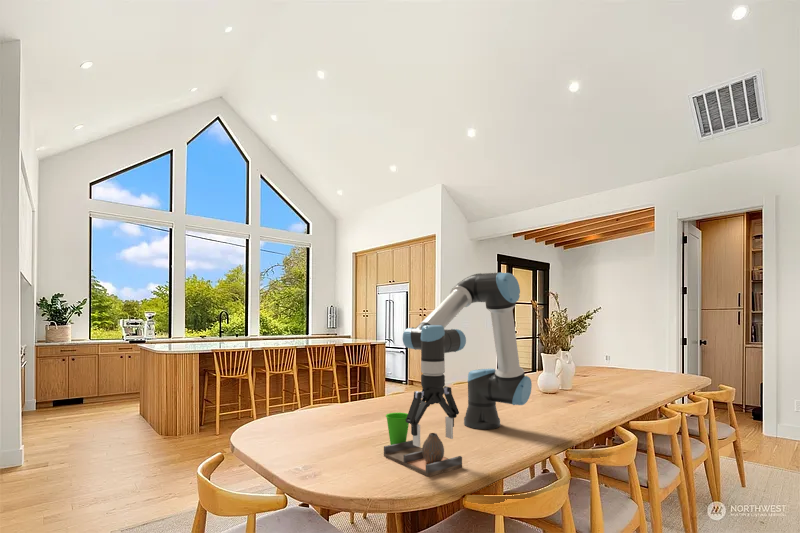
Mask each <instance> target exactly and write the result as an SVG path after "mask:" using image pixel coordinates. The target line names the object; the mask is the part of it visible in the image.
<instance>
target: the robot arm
mask: <svg viewBox="0 0 800 533" xmlns="http://www.w3.org/2000/svg"><path fill="white" fill-rule="evenodd" d="M520 294H521V289H520V284H519V282H518V279H517V278H516V276H514V275H513V274H512V273H510V272H502V271H501V272H488V273H487V272H486V273H485V272H484V273H481V272H480V273H475V274H471V275H469V276H467V277H465V278H463V279H462V280H460V281H459V282H458V283H457V284H455V285H454V286H452V288H451V289H450V292H449V295H447V297H446V298H444V299H443V301H441V303H439V305H437V306H436V307H435V308H434V309H433V310H432V311H431V312H430V313H429V314H428V315H427V316H426V317H425V318H424V319H423V320H422V321H421V322H420V323H419V324H418V325H417V326H416V327H413V326H412V327H407V328H405V330H404V331H403V334H402V342H403V345H404V346H405V347H406V348H407V349H411V350H416V351H417V350H419V351H420V352H421V357H420V360H421V362H420V372H421V373H422V374H421V375H420V384H421V387H422V390H421V391H419V390H415V391H414V392H413V398H412V402H411V405H410V407H409V410H408V412H407V414H408V415H407V418H406V422H407V423H409V425H410V433H411V435H412V440H413V445H415V446H417V447H421V424H419V423H420V421H421V419H422V418H423V416H424V414H425V413H426V411H427V409H428V407H430V405H436V404H439V406H440V407H441V408H442V410H443V411H444V413H445V414H446V416H445V438H448V439H450V440H453V439H454V427H455V419H456V418H457V415H459V413H460V411H459V408H458V406H457V403H456V401H455V399H454V396H453V392H452V387H450V386H446V384H445V382H446V379H445V378H446V376H445V371H446V370H445V369H446V368H445V366H446V365H445V360H446V359H445V355H446V354H447V353H456V352H458V351H461V350H463V349H464V348H465V346H466V343H467V338H466V334H465V333H464V331H462V330H461V329H457V328H456V329H455V328H451V329H445V328H446V327H447V326H448V325H450V322H452V321H453V320H454V319H455V317H456V316H457V315H458V314H459V313H460V312H461V311H462V310H463V309H465V308H467V307H469V306H470V305H471V304H474V303H485V308H486V309H487V310H488V311H489V312H490V316H491V325H492V326H491V327H492V331H493V332H492V333H493V338H494V340H493V341H494V348H495V353H496V354H495V355H496V363H497V369H495V368H480V369H472V370H470V371H469V372H468V374H467V407H466V412H465V416H464V417H463V424H464V426H466V427H467V428H472V429H479V430H493V429H498V428H500V427H501V418H500V417H499V413H498V410H497V403H500V404H501V403H502V404H507V405H513V406H523V405H526V403H527V402H529V399H530V396H531V393H532V386H533V385H532V379H531V378H530V377H529V376H527V375H525V370H524V368H523V367H521V365H520V359H519V350H518V342H517V341H518V340H517V335H516V327H515V321H514V313H513V310H514V308H515V307H516V305H517V304H516V303H517V302H518V301H519V300H520V296H521V295H520Z"/></svg>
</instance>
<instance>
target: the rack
mask: <svg viewBox="0 0 800 533" xmlns="http://www.w3.org/2000/svg"><path fill="white" fill-rule="evenodd" d="M383 457H384V458H388V460H391V461H394V462H395V463H398V464H399V463H400V464H399V465H402V466H404V467H406V468H408V469H410V468H411V469H410V470H412V469H413V471H414V470H415V472H417V473H419V474H421V475H423V476H425V477H426V478H428V477H432V475H433V476H436V475H439V474H443V473H447V472H450V471H454V470H457V469H461V468H463V456H461V455H458V456H454V457H451V458H449V457H445V456H443V459H442V460H441V461H438V462H434V463H431V464H429V463H427V462H426V461H425V460H424V458H423V454H422V447H421V446H420V447H417V446H415V445H413V439H412V440H406V442H402V443H397V444H393V445H391V444H389V445H385V446H383Z"/></svg>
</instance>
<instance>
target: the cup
mask: <svg viewBox="0 0 800 533" xmlns="http://www.w3.org/2000/svg"><path fill="white" fill-rule="evenodd" d="M407 415H408V412H389V413H387V414H386V415H385V417H386V420H387V422H386V423H387V430H388V436H389V445H393V444H397V443H402V442H407V438H408V433H409V432H408V431H409V425H410V423H407V422H406V418H407Z"/></svg>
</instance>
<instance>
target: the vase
mask: <svg viewBox="0 0 800 533" xmlns="http://www.w3.org/2000/svg"><path fill="white" fill-rule="evenodd" d="M421 448H422V454H423V458H424V460H425V461H426V462H427V463H429V464H431V463H434V462H438V461H441V460H442V459H443V457H445V446H444V444H443V441H442V440H441V438H440V437H439V435H438V433H435V432H430V433H429V434H428V436H427V438H426V439H425V440H424V442H423V443H422V447H421Z"/></svg>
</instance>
